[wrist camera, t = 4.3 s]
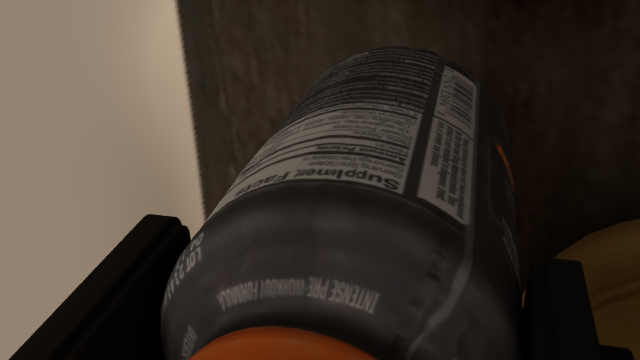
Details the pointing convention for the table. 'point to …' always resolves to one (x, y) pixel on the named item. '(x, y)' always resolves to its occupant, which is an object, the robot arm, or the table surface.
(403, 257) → the pill bottle
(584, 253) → the pot
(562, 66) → the table surface
